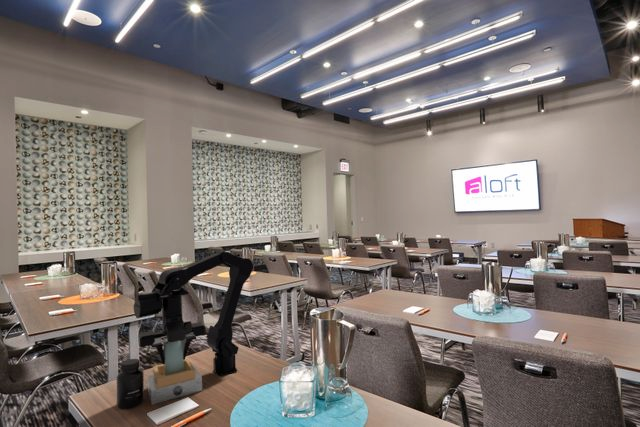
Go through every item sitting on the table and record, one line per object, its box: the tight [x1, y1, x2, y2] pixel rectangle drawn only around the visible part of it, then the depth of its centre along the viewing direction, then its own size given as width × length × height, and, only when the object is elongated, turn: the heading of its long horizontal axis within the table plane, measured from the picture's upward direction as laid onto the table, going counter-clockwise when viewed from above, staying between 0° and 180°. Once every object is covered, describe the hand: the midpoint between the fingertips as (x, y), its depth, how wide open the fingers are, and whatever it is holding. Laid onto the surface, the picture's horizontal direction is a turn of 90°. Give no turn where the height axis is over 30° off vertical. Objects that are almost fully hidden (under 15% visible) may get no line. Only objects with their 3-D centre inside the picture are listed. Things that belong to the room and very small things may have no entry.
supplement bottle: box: [116, 358, 145, 410], centre depth 101 cm, size 7×7×12 cm
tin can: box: [163, 338, 184, 376], centre depth 109 cm, size 6×6×10 cm
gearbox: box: [146, 358, 203, 405], centre depth 109 cm, size 14×13×6 cm
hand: (173, 361), depth 109 cm, fingers closed on tin can, 5 cm apart
